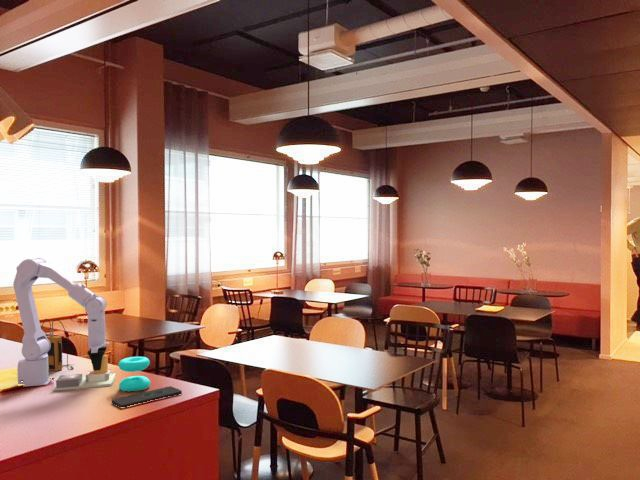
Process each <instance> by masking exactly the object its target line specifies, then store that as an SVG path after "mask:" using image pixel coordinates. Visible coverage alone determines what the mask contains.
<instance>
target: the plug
mask: <svg viewBox="0 0 640 480" xmlns="http://www.w3.org/2000/svg"><path fill="white" fill-rule="evenodd" d="M108 370H109V359H108V354H104V355H103V357H102V363H101V369H100V370H96V371H94V369H93V368H92V371H93V374H102V373H106V372H108Z"/></svg>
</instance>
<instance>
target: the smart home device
mask: <svg viewBox="0 0 640 480" xmlns="http://www.w3.org/2000/svg"><path fill="white" fill-rule="evenodd" d="M182 393H183V392H182V390H181V389H179V388H176V387H173V386H166V387H165V386H164V387H160V388H156V389H152V390H147V391H143V392H139V393H135V394H129V395H125V396H122V397H121V396H120V397H115V398H112V399H111V404H112V403H113V404H115V405H117V406H119V407H127V406H130V405H134V404H138V403H143V402H147V401H150V400H155V399H159V398H163V397H168V396H174V395H178V396H180V395H179V394H181V395H182ZM174 397H175V396H174ZM113 404H112V405H113ZM115 405H114V406H115ZM117 406H116V407H117ZM119 407H118V408H119Z"/></svg>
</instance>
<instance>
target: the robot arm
mask: <svg viewBox="0 0 640 480" xmlns="http://www.w3.org/2000/svg"><path fill="white" fill-rule="evenodd" d="M39 278H44V279H49V280H50V281H52V282H54V283H55V284H57V285H59V287H61V288H63V289H64V290H66V291H67V293H68V297H69V298H71V299H72V300H74V301H75V302H76V303H78V304H79V305H80V306H82V307H83V308H84V310H85V312H86V313H87V335H88V336H87V338H88V339H87V341H88V342H87V343H88V344H87V347H88V348H89V350H88V351H87V352H86V353H87V355H88V357H89V359H90V361H91V364H92V370H93V369H94V371H96V370H100V369H101V363H102V357H103V355H105V353H106V351H107V349H108V347H107V346H109V345H110V342H109V341H107V339H106V338H107V337H106V336H107V335H106V316H105V315H106V312H105V311H106V308H107V305H108V304H107V301H106V299H105V298H104V296H102V295H98V294H97V292H92V291H91V290H90V289H89V288H87V285H86V284H85V283H82V284H81V283H80V282H79V283H78V282H77V283H75V282H73V281H72V280H71V279H70V278H69V277H67V276H66V275H65V274H64V273H62V272H61V271H60V270H58V269H57V268H56V267H55V266H54V265H53V264H52V263H50V262H47V260H45V259H44V258H41V257H37V258H32V259H30V258H29V259H28V258H27V259H24V260H22V261H21V262H20V263H19V264H18V265H17V266H16V274H15V277H14V280H13V284H12V285H13V291H14V294H15V298H16V302H17V308H18V311H19V316H20V320H21V323H22V328H23V332H24V333H23V337H22V340H21V342H22V347H21V354H22V357H24V359H19V360H18V362H17V385H18V384H25V385H23V387H22V388H25V387H36V386H37V387H38V386H47V385H48V384H50V382H51V381H52V380H53V378H52V377H50V376H49V374H50V373H49V371H50V370H49V368H48V354H47V352H48V351H49V350H50V347H51V344H50V341H49V340H48V339H47V337H46V336H47V335H46V332H45V331H44V330H43V328H42V325H41V322H40V318H39V315H38V310H37V305H36V302H35V301H36V300H35V297H34V293H33V289H32V286H33V285H34V284H35V282H36V281H37V280H38V279H39ZM41 328H42V329H41ZM49 378H51V379H49ZM21 381H23V382H21Z"/></svg>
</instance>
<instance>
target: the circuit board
mask: <svg viewBox="0 0 640 480" xmlns="http://www.w3.org/2000/svg"><path fill="white" fill-rule="evenodd" d="M116 377H117V373H115V372H114V373H111V376H110V378H109V380H100V381H88V382H86V375H82V382H81V384H80V385H79V386H76V387H65V388H56V386H55V387H54V391H56V392H58V391H68V390H69V391H70V390H77V389H90V388H101V387H112V386H113V384H114V381H115V379H116Z"/></svg>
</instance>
